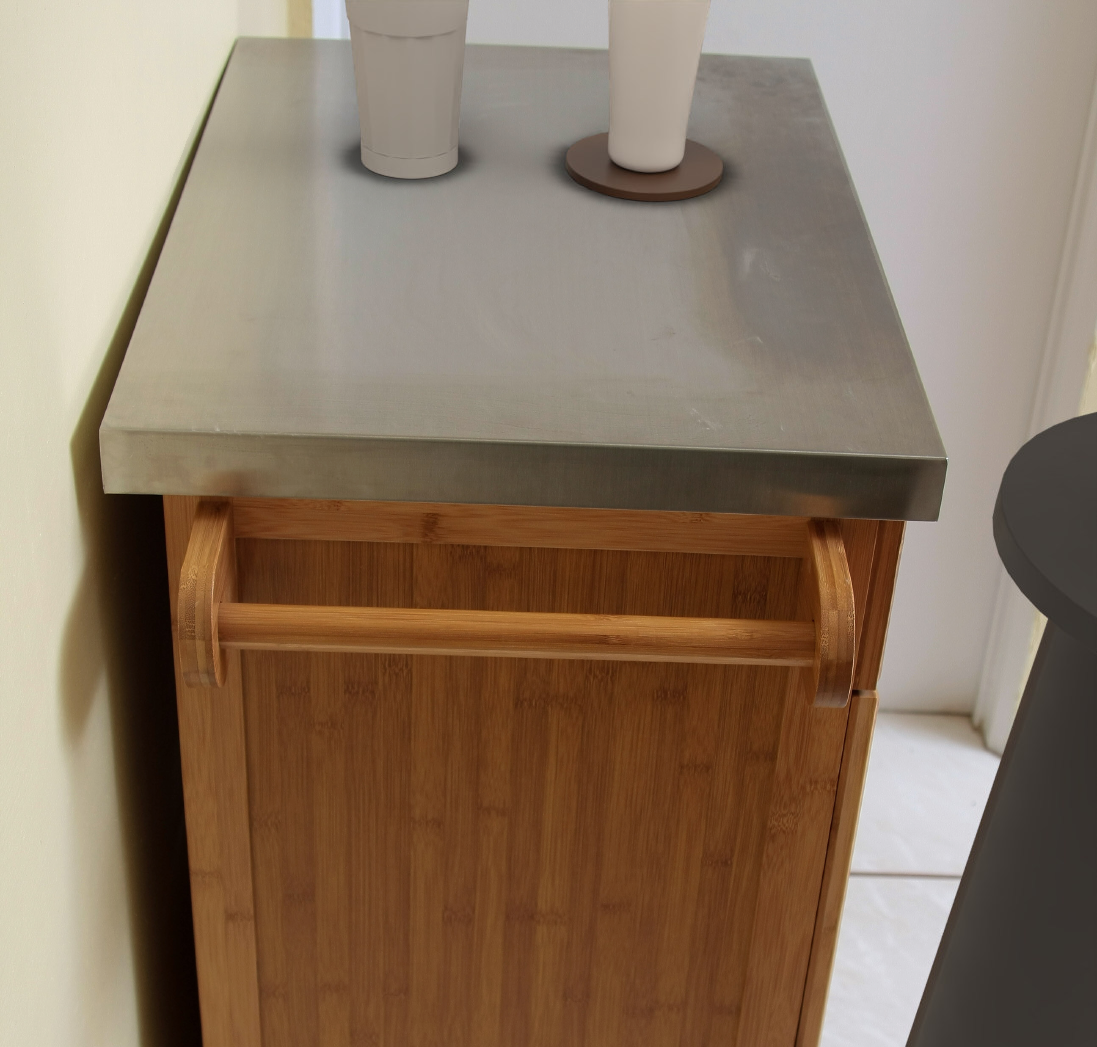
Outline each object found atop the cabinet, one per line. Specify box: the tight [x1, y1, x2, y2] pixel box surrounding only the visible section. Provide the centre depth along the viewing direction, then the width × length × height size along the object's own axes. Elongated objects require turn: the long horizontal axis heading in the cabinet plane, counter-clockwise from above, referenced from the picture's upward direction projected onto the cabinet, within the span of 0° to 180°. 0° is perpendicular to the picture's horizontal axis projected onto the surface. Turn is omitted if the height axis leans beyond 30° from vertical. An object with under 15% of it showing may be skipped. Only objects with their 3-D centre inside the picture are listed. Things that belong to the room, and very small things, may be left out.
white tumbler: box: [607, 0, 712, 173], centre depth 103 cm, size 7×7×15 cm
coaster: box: [565, 131, 724, 202], centre depth 108 cm, size 11×11×1 cm
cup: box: [344, 0, 470, 180], centre depth 103 cm, size 8×8×13 cm
